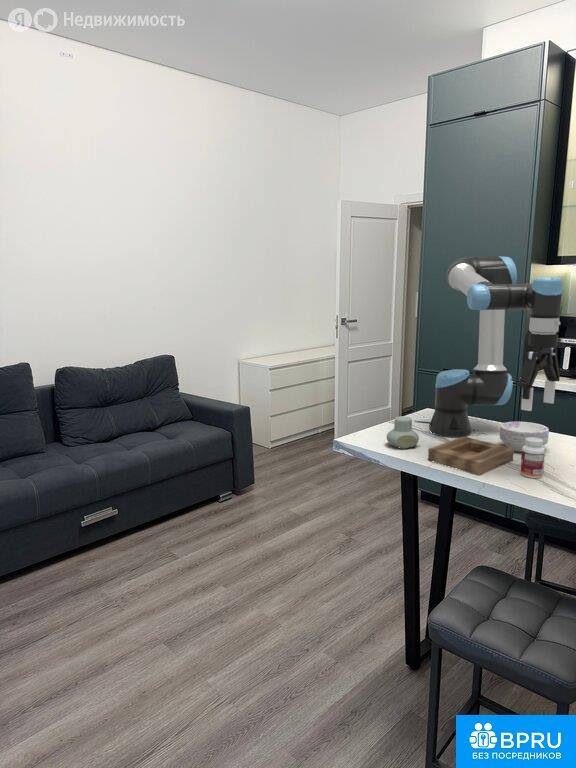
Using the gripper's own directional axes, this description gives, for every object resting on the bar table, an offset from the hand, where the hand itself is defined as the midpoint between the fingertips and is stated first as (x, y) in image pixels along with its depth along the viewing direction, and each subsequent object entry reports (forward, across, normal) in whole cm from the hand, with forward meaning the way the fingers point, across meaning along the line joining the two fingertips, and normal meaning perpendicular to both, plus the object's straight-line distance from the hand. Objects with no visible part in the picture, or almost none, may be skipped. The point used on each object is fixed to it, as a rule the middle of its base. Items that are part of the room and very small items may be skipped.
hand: (537, 406), depth 158 cm
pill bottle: (+21, 0, 0) cm, 21 cm away
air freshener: (+21, -6, +43) cm, 48 cm away
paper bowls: (+21, +22, +14) cm, 33 cm away
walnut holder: (+21, -2, +19) cm, 28 cm away
